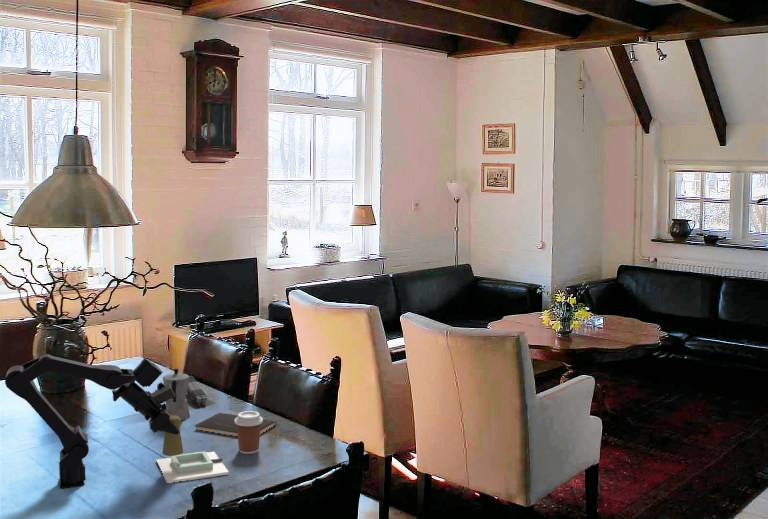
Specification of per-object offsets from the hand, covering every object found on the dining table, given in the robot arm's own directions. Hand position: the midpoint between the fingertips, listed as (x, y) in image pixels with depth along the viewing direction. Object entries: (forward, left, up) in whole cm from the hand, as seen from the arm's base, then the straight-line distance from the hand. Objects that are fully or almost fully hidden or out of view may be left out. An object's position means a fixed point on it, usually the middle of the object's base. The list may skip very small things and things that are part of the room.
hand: (177, 430), depth 243 cm
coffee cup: (+24, +8, -12) cm, 28 cm away
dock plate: (+4, 0, -12) cm, 13 cm away
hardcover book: (+26, +31, -13) cm, 42 cm away
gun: (+20, +70, -13) cm, 74 cm away
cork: (-1, 0, -7) cm, 7 cm away
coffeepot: (+9, +49, -13) cm, 51 cm away
